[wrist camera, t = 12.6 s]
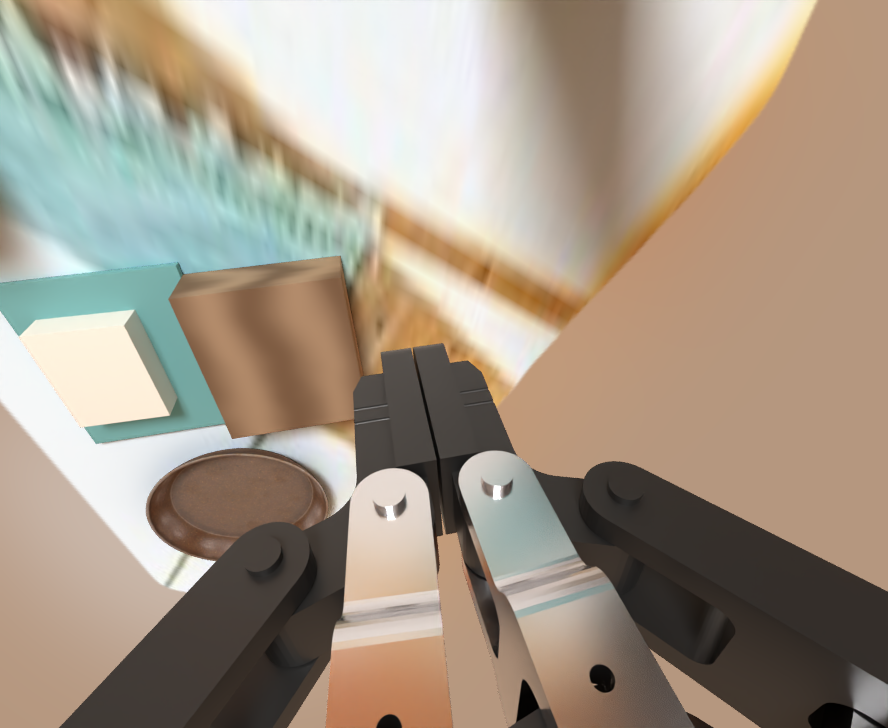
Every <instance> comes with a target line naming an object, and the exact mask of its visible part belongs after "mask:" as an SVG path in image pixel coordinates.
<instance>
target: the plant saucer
mask: <svg viewBox="0 0 888 728" xmlns="http://www.w3.org/2000/svg"><path fill="white" fill-rule="evenodd" d="M327 513H328V500H327V496H326V494H325V491H324V489H323V488H322V486H321V485H320V483H319V482H318V481H317V480H316V479H315V478H314V476H313V475H312V474H310V473H309V472H308V471H307V470H306V469H305V468H303V467H302V466H301V465H299V464H297V463H296V462H294V461H293V460H291V459H289V458H287V457H284V456H282V455H279V454H276V453H273V452H269V451H265V450H259V449H250V448H236V449H227V450H220V451H215V452H211V453H208V454H204V455H201V456H198V457H196V458H193V459H191V460H189V461H187V462H185V463H183V464H181V465H180V466H178V467H176V468H175V469H173V470H172V471H170V472H169V473H168V474H166V475H165V476H164V477H163V478H162V479H160V480H159V482H158V483H157V484H156V485H155V486H154V487H153V489H152V491H151V492H150V494H149V496H148V499H147V503H146V516H147V519H148V522H149V524H150V526H151V528H152V530H153V531H154V532H155V533H156V535H157V536H158V537H159V538H160V539H161V540H162V541H164V542H165V543H167V544H168V545H169V546H171V547H173V548H174V549H176V550H178V551H180V552H183V553H185V554H188V555H191V556H194V557H198V558H201V559H206V560H212V561H217V560H218V559H219V558H220V557H221V556H222V555H223V554H224V553H225V552H226V551H227V550H228V549H229V547H230V546H231V545H232V544H233V543H234V542H235V541H236V540H237V539H238V538H240V537H241V536H242V535H243V534H245V533H246V532H248V531H249V530H251V529H253V528H255V527H257V526H260V525H263V524H266V523H271V522H286V523H290V524H293V525H295V526H297V527H299V528H300V529H301V530H302V531H303V530H305V529H307V528H309V527H311V526H313V525H315V524H317V523H319V522H321V521H323V520H325V519H326V517H327Z"/></svg>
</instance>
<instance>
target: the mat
mask: <svg viewBox="0 0 888 728" xmlns="http://www.w3.org/2000/svg"><path fill="white" fill-rule="evenodd" d="M182 275H183V273H182V271H181V269H180V266H179V264H178V262H177V263H169V264H160V265H151V266H143V267H134V268H125V269H117V270H108V271H100V272H91V273H82V274H74V275H65V276H56V277H48V278H39V279H30V280H22V281H13V282H5V283H0V311H1V312H2V314H3V315H4V317H5V318H6V319H7V321H8V322H9V324H10V325H11V326H12V328H13V329H14V331H15V332H16V333H17V335H18V336H20V335H21V334H22V333H23V332H24V331H25V330H26V329H27V328H28V327H29V326H30V325H31V324H32V323H33V322H34V321H35V320H40V319H50V318H59V317H69V316H78V315H88V314H98V313H107V312H117V311H126V310H135V311H136V313H137V315H138V317H139V319H140V321H141V323H142V325H143V327H144V329H145V331H146V333H147V335H148V337H149V339H150V342H151V344H152V346H153V348H154V350H155V352H156V354H157V356H158V358H159V360H160V362H161V364H162V366H163V368H164V370H165V373H166V375H167V377H168V379H169V381H170V383H171V385H172V387H173V389H174V391H175V393H176V395H177V400H176V402H175V405H174V407H173V409H172V412H171V414H170V416H163V417H155V418H148V419H140V420H133V421H125V422H118V423H111V424H103V425H96V426H88V427H84V428H85V429H86V431H87V432H88V433H89V435H90V436H91V438H92V439H93V440H94V442H95V443H96V444H98V443H104V442H110V441H117V440H123V439H130V438H136V437H142V436H149V435H155V434H161V433H168V432H174V431H180V430H187V429H193V428H200V427H206V426H212V425H219V424H225V422H224V420H223V417H222V415H221V413H220V411H219V409H218V407H217V404H216V402H215V400H214V398H213V396H212V394H211V391H210V389H209V387H208V385H207V383H206V380H205V378H204V376H203V374H202V372H201V370H200V367H199V365H198V363H197V361H196V359H195V357H194V354H193V352H192V350H191V348H190V346H189V343H188V341H187V339H186V337H185V335H184V333H183V330H182V328H181V326H180V324H179V322H178V320H177V317H176V315H175V313H174V311H173V309H172V307H171V304H170V302H169V300H168V299H169V297H170V295H171V294H172V292H173V290H174V289H175V287H176V285H177V284H178V282H179V280H180V279H181V277H182Z"/></svg>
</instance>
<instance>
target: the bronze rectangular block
mask: <svg viewBox="0 0 888 728" xmlns="http://www.w3.org/2000/svg"><path fill="white" fill-rule="evenodd" d="M168 300H169V302H170V304H171V307H172V309H173V311H174V313H175V315H176V317H177V320H178V322H179V324H180V326H181V328H182V330H183V333H184V335H185V337H186V339H187V341H188V343H189V346H190V348H191V350H192V352H193V354H194V357H195V359H196V361H197V363H198V365H199V367H200V370H201V372H202V374H203V376H204V378H205V380H206V383H207V385H208V387H209V389H210V391H211V394H212V396H213V398H214V400H215V402H216V404H217V407H218V409H219V411H220V413H221V415H222V417H223V420H224V422H225V424H226V426H227V428H228V431H229V433H230V435H231V437H232V439H235V438H241V437H247V436H253V435H260V434H266V433H272V432H278V431H284V430H291V429H297V428H303V427H309V426H315V425H322V424H328V423H334V422H340V421H346V420H353V419H354V403H353V391H354V389H355V388H356V386H357V384H358V382H359V380H360V378H361V377H362V376H363V371H362V366H361V360H360V355H359V350H358V345H357V340H356V335H355V329H354V324H353V319H352V314H351V309H350V303H349V298H348V293H347V288H346V283H345V278H344V272H343V267H342V262H341V257H340V256H334V257H326V258H318V259H309V260H301V261H292V262H284V263H275V264H267V265H259V266H250V267H242V268H233V269H225V270H217V271H208V272H200V273H191V274H183V275H182V277H181V279H180V280H179V282H178V284H177V285H176V287H175V289H174V290H173V292H172V294H171V295H170V297H169V299H168Z"/></svg>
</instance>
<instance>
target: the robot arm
mask: <svg viewBox="0 0 888 728" xmlns="http://www.w3.org/2000/svg"><path fill="white" fill-rule="evenodd" d="M413 357H414V359H413ZM381 359H382V366H383V373H382V374H376V375H369V376H362V377H361V378H360V380H359V382H358V384H357V386H356V388H355V389H354V391H353V403H354V423H355V447H356V468H357V483H356V487H355V490H354V492H353V494H352V496H351V498H350V499H349V501H348V502H347V503H346V504H345V506H344V507H342V508H341V509H340V510H339V511H338V512H337V513H335V514H334V515H332V516H331V517H329V518H327V519H325V520H323V521H321V522H319V523H317V524H315V525H313V526H311V527H309V528H307V529H305V530H303V531H302V530H301V529H300V528H299V527H297V526H295V525H293V524H290V523H286V522H271V523H266V524H263V525H260V526H257V527H255V528H253V529H251V530H249V531H248V532H246V533H245V534H243V535H242V536H241V537H240V538H238V539H237V540H236V541H235V542H234V543H233V544H232V545H231V546H230V547H229V549H228V550H227V551H226V552H225V553H224V554H223V555H222V556H221V557H220V558H219V559H218V560H217V561H216V562H215V563H214V564H213V565H212V567H211V568H210V569H209V570H208V571H207V572H206V573H205V574H204V575H203V576H202V577H201V578H200V579H199V580H198V581H197V582H196V583H195V585H194V586H193V587H192V588H191V589H190V590H189V591H188V592H187V593H186V594H185V595H184V596H183V597H182V598H181V599H180V600H179V601H178V603H177V604H176V605H175V606H174V607H173V608H172V609H171V610H170V611H169V612H168V613H167V614H166V615H165V616H164V618H162V620H161V621H160V622H159V623H158V624H157V625H156V626H155V627H154V628H153V629H152V630H151V631H150V632H149V633H148V634H147V635H146V636H145V638H144V639H143V640H142V641H141V642H140V643H139V644H138V645H137V646H136V647H135V648H134V649H133V650H132V651H131V652H130V653H129V654H128V655H127V656H126V658H125V659H124V660H123V661H122V662H121V663H120V664H119V665H118V666H117V667H116V668H115V669H114V670H113V671H112V672H111V673H110V675H109V676H108V677H107V678H106V679H105V680H104V681H103V682H102V683H101V684H100V685H99V686H98V687H97V688H96V689H95V690H94V691H93V692H92V694H91V695H90V696H89V697H88V698H87V699H86V700H85V701H84V702H83V703H82V704H81V705H80V706H79V707H78V709H76V710H75V712H74V713H73V714H72V715H71V716H70V717H69V718H68V719H67V720H66V721H65V722H64V723H63V724H62V725H61V726H60V727H59V728H287V727H288V726H289V724H290V723H291V721H292V720H293V718H294V716H295V715H296V713H297V712H298V710H299V708H300V707H301V705H302V704H303V702H304V700H305V699H306V697H307V696H308V694H309V692H310V691H311V689H312V688H313V686H314V685H315V683H316V682H317V680H318V678H319V677H320V675H321V674H322V672H323V671H324V669H325V667H326V666H327V664H328V662H329V661H330V659H331V661H330V674H329V687H328V700H327V714H326V726H325V728H453V720H452V711H451V701H450V692H449V682H448V673H447V663H446V653H445V643H444V634H443V624H442V614H441V605H440V596H439V586H438V572H439V565H440V564H439V554H438V544H437V536H441V535H443V531H442V519H441V514H442V518H443V523H444V527H445V532H446V534H450V533H456V532H457V534H458V538H459V542H460V547H461V551H462V567H463V571H464V574H465V577H466V581H467V584H468V587H469V590H470V593H471V597H472V600H473V603H474V606H475V609H476V612H477V616H478V619H479V622H480V625H481V628H482V631H483V635H484V638H485V641H486V644H487V647H488V650H489V654H490V657H491V660H492V663H493V667H494V671H495V677H496V682H497V687H498V693H499V697H500V701H501V705H502V709H503V712H504V716H505V719H506V723H507V726H508V728H713V727H711V726H710V725H708V724H707V723H705V722H703V721H702V720H700V719H699V718H697V717H695V716H693V715H691V714H689V713H687V712H685V710H684V708H683V707H682V705H681V703H680V701H679V700H678V698H677V696H676V695H675V693H674V691H673V689H672V687H671V686H670V684H669V682H668V680H667V679H666V677H665V675H664V673H663V672H662V670H661V668H660V666H659V665H658V663H657V661H656V659H655V658H654V656H653V654H652V653H651V651H650V649H651V650H653V651H654V652H655V653H657V654H658V655H659V656H661V657H662V658H664V659H665V660H666V661H668V662H669V663H671V664H672V665H674V666H675V667H676V668H678V669H679V670H681V671H682V672H683V673H685V674H686V675H688V676H689V677H690V678H692V679H693V680H695V681H696V682H697V683H699V684H700V685H702V686H703V687H704V688H706V689H707V690H709V691H710V692H711V693H713V694H714V695H716V696H717V697H719V698H720V699H721V700H723V701H724V702H726V703H727V704H728V705H730V706H731V707H733V708H734V709H735V710H737V711H738V712H740V713H741V714H743V715H744V716H745V717H747V718H748V719H749V720H751V721H752V722H754V723H755V724H757V725H758V726H759V727H761V728H888V592H887V591H885V590H883V589H881V588H879V587H877V586H875V585H873V584H871V583H869V582H867V581H865V580H864V579H861V578H859V577H858V576H855V575H854V574H852V573H850V572H847V571H845V570H844V569H842V568H840V567H837V566H836V565H834V564H831V563H830V562H827V561H825V560H823V559H822V558H820V557H818V556H816V555H814V554H811V553H810V552H808V551H806V550H804V549H802V548H800V547H798V546H796V545H794V544H792V543H790V542H788V541H786V540H784V539H782V538H779V537H778V536H776V535H774V534H772V533H770V532H768V531H766V530H764V529H762V528H760V527H758V526H756V525H754V524H752V523H750V522H748V521H746V520H744V519H742V518H740V517H738V516H736V515H734V514H732V513H730V512H728V511H726V510H724V509H722V508H720V507H718V506H716V505H714V504H712V503H709V502H708V501H706V500H704V499H702V498H700V497H698V496H696V495H694V494H692V493H690V492H688V491H686V490H684V489H682V488H679V487H678V486H676V485H674V484H672V483H670V482H668V481H666V480H664V479H662V478H660V477H658V476H656V475H654V474H652V473H650V472H648V471H646V470H644V469H642V468H640V467H637V466H635V465H632V464H629V463H625V462H616V461H612V462H605V463H601V464H598V465H596V466H594V467H593V468H591V469H590V470H589V471H588V472H587V474H586V476H585V478H584V479H580V478H570V477H560V476H552V475H547V474H544V473H541V472H538V471H536V470H534V469H532V468H531V467H530V466H529V465H528V464H527V463H526V462H525V461H524V460H523V459H521V458H520V457H518V456H517V455H516V453H515V451H514V449H513V447H512V444H511V442H510V440H509V437H508V435H507V432H506V430H505V428H504V425H503V423H502V420H501V418H500V415H499V413H498V411H497V408H496V406H495V403H493V399H492V396H491V394H490V391H489V390H488V387H487V384H486V382H485V379H484V377H483V374H482V372H481V371H479V370H478V369H477V368H476V367H475V366H474V365H472V364H471V363H470V362H469V361H461V362H454V363H450V362H449V359H448V356H447V353H446V350H445V347H444V344H443V343H441V344H434V345H427V346H420V347H413V355H412V351H411V348H407V349H400V350H393V351H386V352H381ZM649 648H650V649H649Z"/></svg>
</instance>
